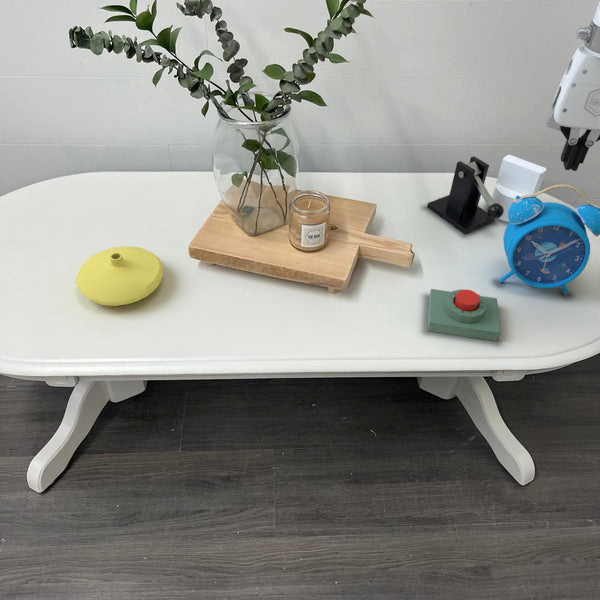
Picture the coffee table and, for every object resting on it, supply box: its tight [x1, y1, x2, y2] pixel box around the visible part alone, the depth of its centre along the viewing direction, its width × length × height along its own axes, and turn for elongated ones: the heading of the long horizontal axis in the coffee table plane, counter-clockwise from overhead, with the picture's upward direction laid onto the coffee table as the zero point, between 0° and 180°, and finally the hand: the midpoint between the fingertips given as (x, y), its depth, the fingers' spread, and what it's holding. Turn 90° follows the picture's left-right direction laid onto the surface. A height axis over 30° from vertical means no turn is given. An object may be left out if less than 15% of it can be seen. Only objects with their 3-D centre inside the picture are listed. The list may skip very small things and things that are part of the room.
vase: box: [75, 245, 164, 307], centre depth 106 cm, size 16×16×7 cm
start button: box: [455, 289, 480, 312], centre depth 101 cm, size 4×4×2 cm
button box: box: [427, 288, 501, 342], centre depth 102 cm, size 12×9×4 cm
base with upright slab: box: [491, 154, 547, 223], centre depth 126 cm, size 9×9×12 cm
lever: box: [466, 161, 504, 220], centre depth 120 cm, size 13×3×3 cm, turn 33°
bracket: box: [426, 155, 496, 235], centre depth 124 cm, size 12×9×13 cm
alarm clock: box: [498, 183, 600, 295], centre depth 105 cm, size 17×10×20 cm, turn 76°
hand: (569, 165), depth 87 cm, fingers closed
